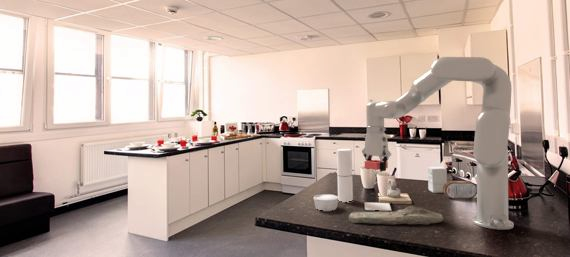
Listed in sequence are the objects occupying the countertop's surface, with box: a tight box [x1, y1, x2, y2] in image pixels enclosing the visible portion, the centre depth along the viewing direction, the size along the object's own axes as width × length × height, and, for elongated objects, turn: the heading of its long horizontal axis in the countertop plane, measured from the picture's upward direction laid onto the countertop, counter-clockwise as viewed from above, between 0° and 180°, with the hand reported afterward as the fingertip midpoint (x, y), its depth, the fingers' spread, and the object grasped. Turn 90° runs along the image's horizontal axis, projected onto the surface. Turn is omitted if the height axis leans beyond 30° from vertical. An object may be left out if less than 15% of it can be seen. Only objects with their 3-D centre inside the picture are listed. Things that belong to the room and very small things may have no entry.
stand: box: [377, 180, 413, 205], centre depth 151 cm, size 14×14×9 cm
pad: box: [364, 202, 392, 212], centre depth 140 cm, size 11×11×1 cm
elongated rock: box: [348, 205, 444, 225], centre depth 121 cm, size 35×5×10 cm
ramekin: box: [313, 193, 339, 212], centre depth 141 cm, size 11×11×5 cm
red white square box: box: [364, 159, 389, 171], centre depth 140 cm, size 7×7×3 cm
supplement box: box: [427, 166, 448, 194], centre depth 165 cm, size 7×7×13 cm
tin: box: [443, 180, 477, 200], centre depth 150 cm, size 15×3×8 cm, turn 84°
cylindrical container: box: [336, 148, 354, 203], centre depth 153 cm, size 7×7×25 cm
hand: (376, 169), depth 140 cm, fingers closed on red white square box, 7 cm apart
